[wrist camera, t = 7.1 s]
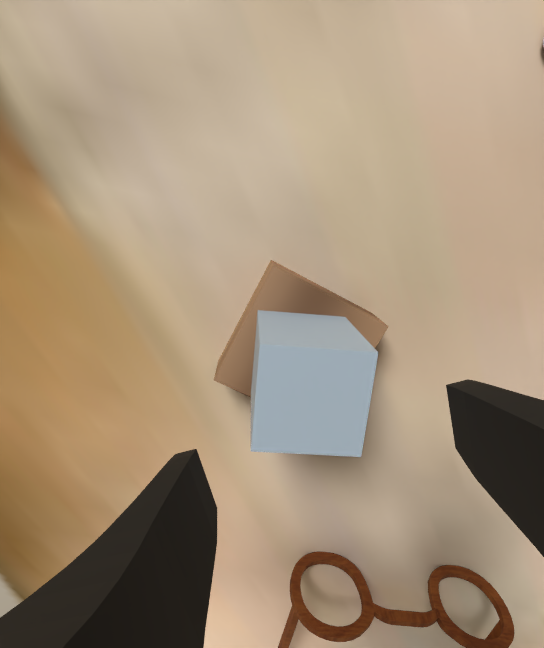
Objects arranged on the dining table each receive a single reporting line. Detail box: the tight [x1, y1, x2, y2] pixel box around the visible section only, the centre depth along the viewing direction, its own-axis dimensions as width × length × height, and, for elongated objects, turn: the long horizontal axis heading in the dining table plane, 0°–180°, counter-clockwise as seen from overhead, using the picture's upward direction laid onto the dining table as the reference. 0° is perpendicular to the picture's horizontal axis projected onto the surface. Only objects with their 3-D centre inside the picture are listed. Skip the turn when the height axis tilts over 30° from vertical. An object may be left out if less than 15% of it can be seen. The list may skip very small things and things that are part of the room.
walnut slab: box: [214, 260, 388, 397], centre depth 20 cm, size 6×6×3 cm
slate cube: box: [251, 310, 378, 457], centre depth 16 cm, size 4×4×5 cm
